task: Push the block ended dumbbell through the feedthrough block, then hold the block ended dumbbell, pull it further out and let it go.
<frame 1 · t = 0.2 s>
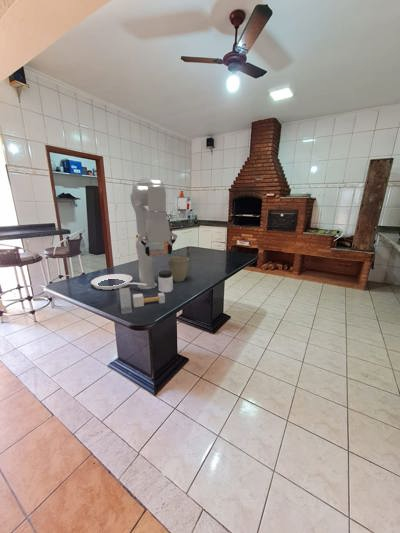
hand: (159, 254, 99), 31 cm above the table, fingers open, 9 cm apart
feedthrough block: (126, 306, 117), on the table
plant pot: (178, 280, 159), on the table
block ended dumbbell: (138, 304, 119), on the table
pan: (121, 287, 146), on the table
jar: (165, 290, 140), on the table
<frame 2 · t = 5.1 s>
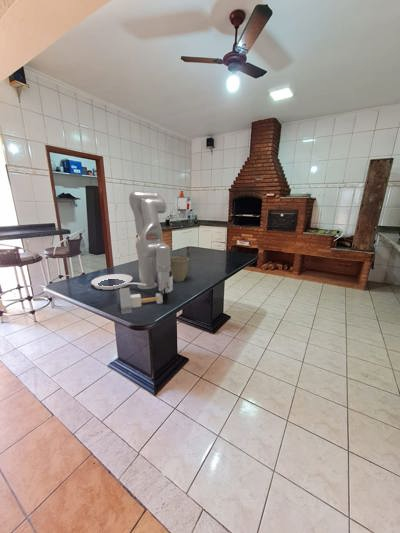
hand: (164, 299, 124), 1 cm above the table, fingers closed
block ended dumbbell: (136, 305, 119), on the table, touching gripper
everything else where it was.
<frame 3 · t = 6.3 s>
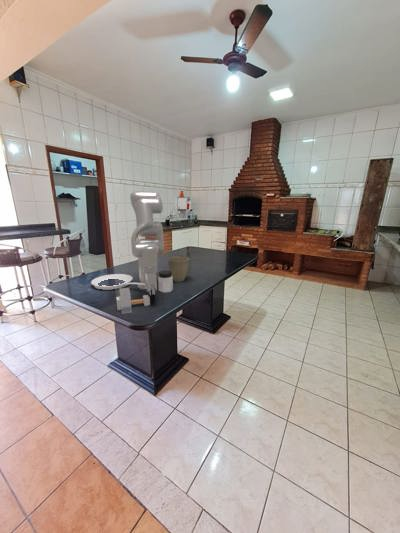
hand: (152, 301, 121), 1 cm above the table, fingers closed
block ended dumbbell: (122, 307, 116), on the table
everything else where it was.
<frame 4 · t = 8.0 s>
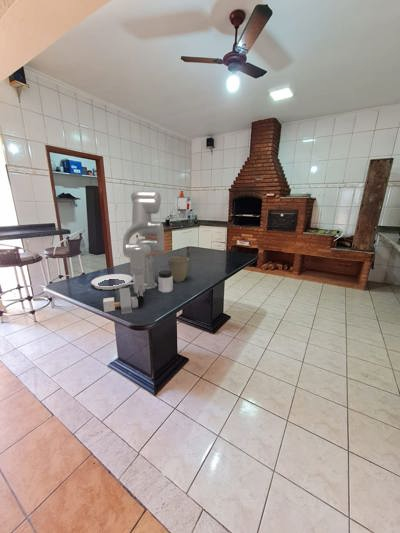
hand: (140, 302, 119), 1 cm above the table, fingers closed
block ended dumbbell: (109, 309, 114), on the table, touching gripper
everything else where it was.
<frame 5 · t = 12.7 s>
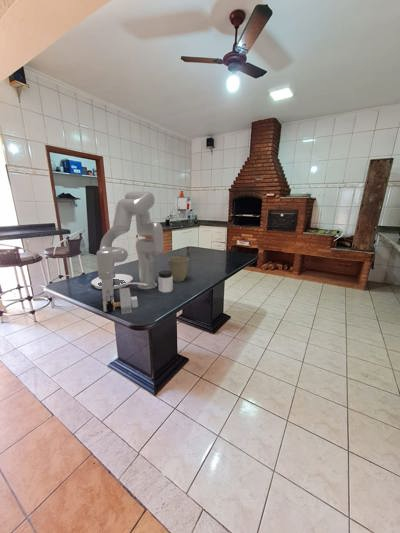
hand: (110, 308, 114), 1 cm above the table, fingers closed on block ended dumbbell, 4 cm apart
block ended dumbbell: (109, 309, 114), on the table, touching gripper
everything else where it was.
when the fingers open (1 cm above the table, at t = 14.4 s): block ended dumbbell stays where it is, on the table.
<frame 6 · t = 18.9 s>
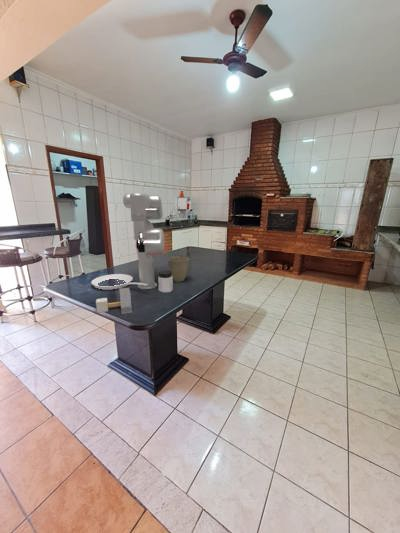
hand: (140, 250, 120), 28 cm above the table, fingers open, 9 cm apart
block ended dumbbell: (102, 310, 113), on the table
everything else where it was.
at the end: block ended dumbbell inside the target area (0.1 cm from its centre), on the table; block ended dumbbell tilted 0°; the gripper is holding nothing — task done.
